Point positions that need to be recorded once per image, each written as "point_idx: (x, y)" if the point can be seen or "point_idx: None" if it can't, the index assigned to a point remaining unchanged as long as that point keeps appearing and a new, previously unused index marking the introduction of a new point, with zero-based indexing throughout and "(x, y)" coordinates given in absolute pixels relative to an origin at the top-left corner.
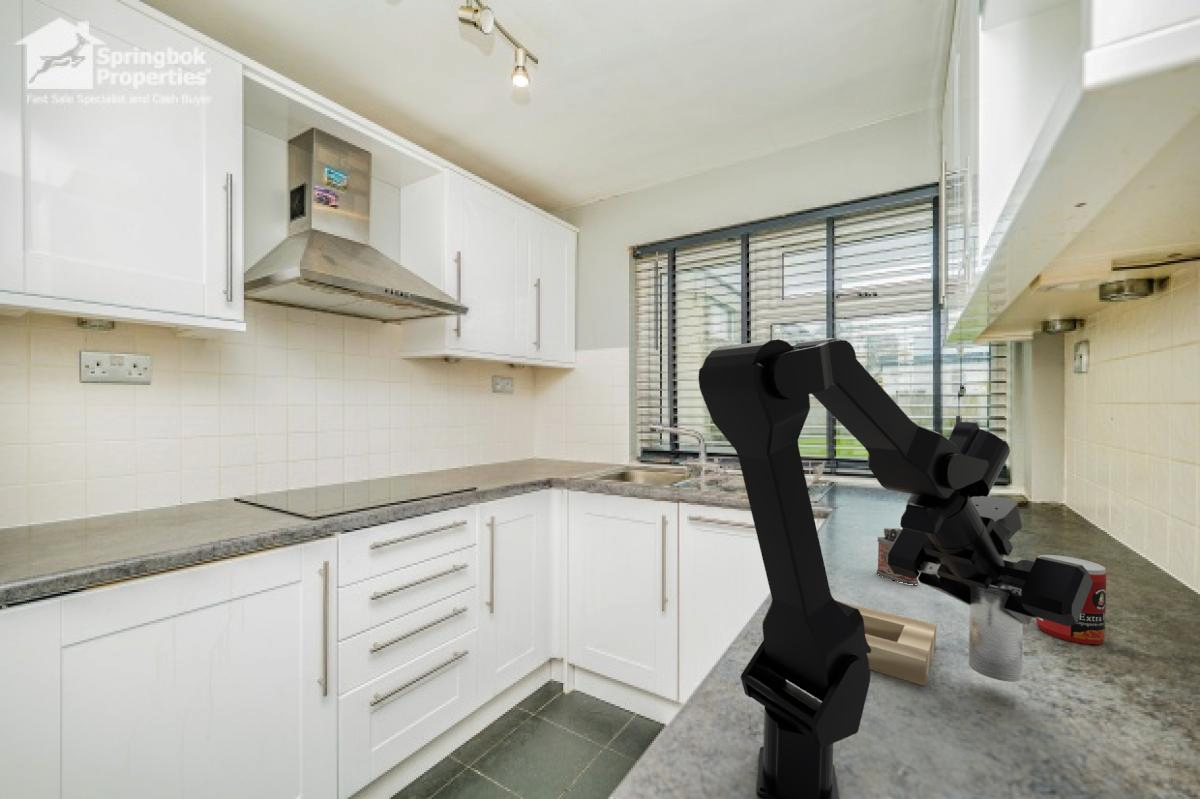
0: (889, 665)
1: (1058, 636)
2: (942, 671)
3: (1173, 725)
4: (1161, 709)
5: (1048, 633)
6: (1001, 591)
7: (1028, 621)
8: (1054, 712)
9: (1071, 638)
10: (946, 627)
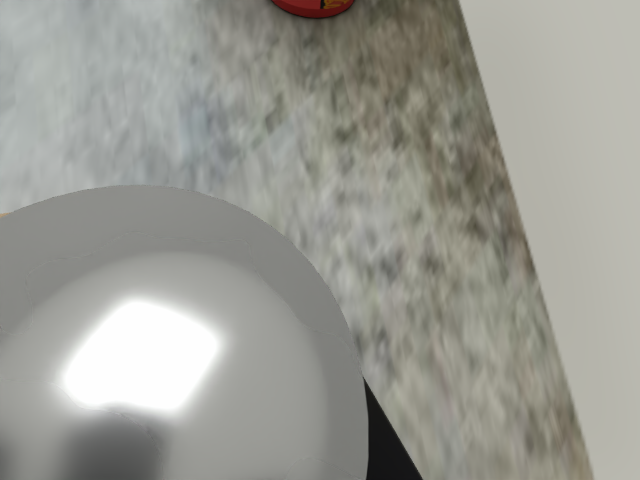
0: None
1: (301, 13)
2: None
3: (508, 243)
4: (479, 190)
5: (285, 9)
6: None
7: None
8: (368, 384)
9: (320, 12)
10: (115, 107)
